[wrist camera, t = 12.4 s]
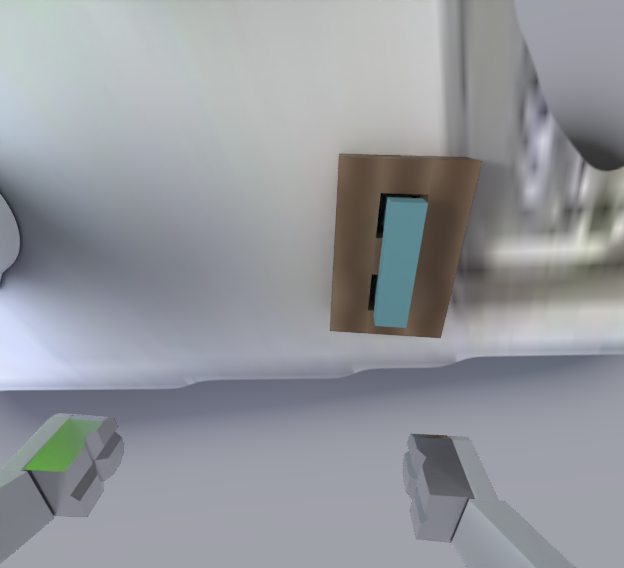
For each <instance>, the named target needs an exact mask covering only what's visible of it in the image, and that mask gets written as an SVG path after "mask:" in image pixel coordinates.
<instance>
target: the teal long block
mask: <svg viewBox="0 0 624 568" xmlns="http://www.w3.org/2000/svg"><path fill="white" fill-rule="evenodd" d="M427 207H428V203H427V202H426V201H425V200H424V199H423V198H410V197H409V196H404V195H382V204H381V213H380V222H381V224H382V227H383V229H384V231H383V239H382V247H381V256H380V264H379V273H378V275H374V276H373V284H372V290H373V295H374V301H375V306H374V315H373V316H374V322H375V326H384V327H400V328H406V327H407V321H408V315H409V310H410V304H411V298H412V293H413V287H414V281H415V275H416V270H417V264H418V258H419V252H420V247H421V241H422V235H423V230H424V224H425V218H426V212H427Z"/></svg>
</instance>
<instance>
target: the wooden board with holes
mask: <svg viewBox="0 0 624 568" xmlns="http://www.w3.org/2000/svg"><path fill="white" fill-rule="evenodd" d="M481 163H482V161H479V160H475V159H471V158H467V157H438V156H401V155H363V154H339V167H338V186H337V206H336V225H335V244H334V263H333V282H332V302H331V321H330V331H338V332H354V333H369V334H385V335H400V336H416V337H432V338H441V335H442V330H443V326H444V322H445V317H446V313H447V309H448V305H449V300H450V296H451V292H452V287H453V283H454V279H455V275H456V270H457V266H458V262H459V258H460V253H461V249H462V245H463V240H464V236H465V232H466V228H467V223H468V219H469V215H470V210H471V206H472V202H473V198H474V193H475V189H476V185H477V180H478V176H479V172H480V168H481ZM381 193H394V194H418V197H417V198H423V199H424V200H425V201H426V202H427V203H428V207H427V212H426V218H425V224H424V230H423V235H422V241H421V247H420V252H419V258H418V264H417V270H416V275H415V281H414V287H413V293H412V298H411V304H410V310H409V315H408V321H407V327H406V328H400V327H384V326H375V322H374V316H373V315H374V306H375V301H374V295H373V294H371V293H370V287H371V278H372V274H374V275H378V273H379V264H380V256H381V247H382V239H383V231H384V229H383V227H377V223H378V214H379V205H380V196H381Z"/></svg>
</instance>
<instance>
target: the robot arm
mask: <svg viewBox="0 0 624 568" xmlns="http://www.w3.org/2000/svg"><path fill="white" fill-rule="evenodd" d="M19 248H20V236H19V230H18V226H17V223H16V220H15V218H14V216H13V214H12V211H11V210H10V208H9V206H8V204H7V203H6V201H5V200H4V198H3V197H2V196H1V194H0V281H1V276H2V274H3V272H4V271H5V270H6V269H8V268H9V267H10V266H11V265H12V264H13V263H14V262H15V260H16V258H17V256H18V253H19ZM117 427H118V425H117V422H116V420H115V418H110V417H98V416H86V415H76V414H61V413H58V414H56V415H54V416H52V417H50V418H49V419H48V420H47V421H46V422H45V423H44V424H43V425H42V426H41V428H40V429H39V430H38V431H37V432H36V433H35V434H34V435H33V436H32V437H31V438H30V439H29V440H28V441H27V442H26V443H25V444H24V445H23V446H22V448H20V450H19V451H18V452H17V453H16V454H15V455H14V456H13V457H12V458H11V459H10V460H9V461H8V462H7V463H6V464H5V465H4V466H3V468H2V469H0V564H1V563H2V562H3V561H4V560H6V559H7V558H8V557H9V556H10V555H11V554H13V553H14V552H15V551H16V550H17V549H19V547H21V546H22V545H23V544H24V543H26V542H27V541H28V540H29V539H30V538H31V537H33V536H34V535H35V534H36V533H37V532H39V531H40V530H41V529H42V528H43V527H44V526H45V525H47V524H48V523H49V522H50V521H52V520H53V519H54V516H67V517H68V516H69V517H88V516H89V514H90V512H91V511H92V509H93V507H94V506H95V504H96V502H97V501H98V499H99V498H100V496H101V494H102V493H103V491H104V483H103V482H104V481H105V480H106V479H108V478H109V477H110V476H112V475H113V474H114V473H115V471H116V470H117V468H118V466H119V465H120V463H121V459H122V456H123V453H124V442H123V439H122V437H121V436H120V435H119V434H117V433H116V432H115V430H116V429H117ZM407 444H408V449H409V451H408V452H407V453H405V455H404V460H403V478H404V485H405V489H406V493H407V494H408V495H409V496H410V497H411V498H412V503H411V507H410V513H411V518H412V523H413V528H414V532H415V537H416V539H418V540H429V541H439V542H449V543H451V546H452V547H453V549H454V550H455V551H456V553H457V554H458V556H459V557H460V558H461V560H462V561H463V563H464V564H465V565H466V567H467V568H576V567H575V566H574V565H573V564H571V563H570V562H569V561H568V560H567V559H566V558H565V557H564V556H563V555H562V554H561V553H560V552H558V550H557V549H555V548H554V547H553V546H552V545H551V544H550V543H549V542H548V541H547V540H546V539H545V538H544V537H543V536H542V535H541V534H539V533H538V532H537V531H536V530H535V529H534V528H533V527H532V526H531V525H530V524H529V523H528V522H527V521H526V520H525V519H524V518H522V517H521V516H520V515H519V514H518V513H517V512H516V511H515V510H514V509H513V508H512V507H511V506H510V505H508V503H507V502H505V501H499V500H498V498H497V495H496V493H495V491H494V489H493V487H492V485H491V482H490V480H489V478H488V476H487V474H486V472H485V469H484V467H483V465H482V463H481V461H480V458H479V456H478V454H477V452H476V450H475V447H474V446H473V443H472V441H471V440H470V439H469V438H468V437H456V436H447V435H446V436H445V435H424V434H411V435H410V436H409V438H408V442H407Z"/></svg>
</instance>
